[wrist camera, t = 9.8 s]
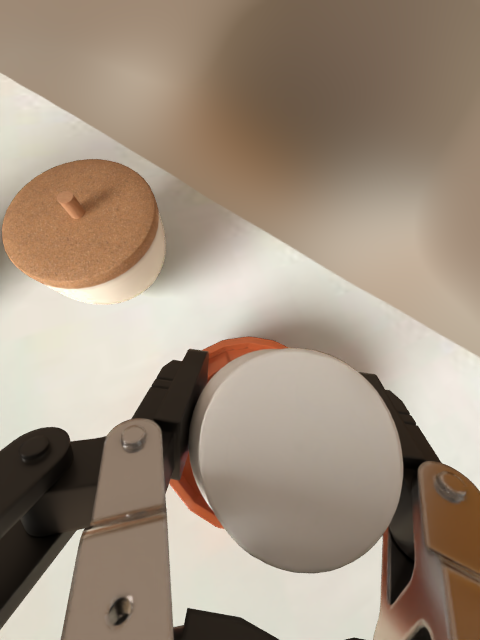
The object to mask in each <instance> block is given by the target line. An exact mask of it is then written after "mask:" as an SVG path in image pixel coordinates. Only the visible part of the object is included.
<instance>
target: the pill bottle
mask: <svg viewBox="0 0 480 640" xmlns="http://www.w3.org/2000/svg"><path fill="white" fill-rule="evenodd" d="M189 457H190V463H191V468H192V471H193V475H194V478H195V480H196V483H197V486H198V488H199V490H200V492H201V494H202V496H203V497H204V499H205V501H206V502H207V504H208V505H209V506H210V508H211V509H212V510H213V512H214V514H215V516H216V517H217V519H218V520H219V522H220V523H221V525H222V526H223V528H224V529H225V530H226V531H227V532H228V534H229V535H230V536H231V537H232V538H233V539H234V541H235V542H236V543H237V544H238V545H239V546H240V547H242V548H243V549H244V550H245V551H246V552H248V553H249V554H250V555H252V556H253V557H255V558H257V559H259V560H261V561H263V562H264V563H266V564H269V565H271V566H273V567H276V568H279V569H282V570H286V571H290V572H296V573H320V572H327V571H332V570H335V569H338V568H341V567H343V566H345V565H347V564H349V563H352V562H353V561H355V560H357V559H358V558H360V557H361V556H363V555H364V554H365V553H366V552H368V551H369V550H370V549H371V548H372V547H373V546H374V545H375V544H376V543H377V541H378V540H379V539H380V538H381V536H382V535H383V534H384V532H385V531H386V529H387V527H388V526H389V524H390V522H391V520H392V518H393V515H394V513H395V511H396V509H397V506H398V503H399V498H400V494H401V488H402V481H403V457H402V449H401V444H400V439H399V435H398V431H397V428H396V426H395V423H394V420H393V418H392V416H391V413H390V411H389V410H388V408H387V406H386V404H385V403H384V401H383V399H382V398H381V396H380V395H379V393H378V392H377V391H376V390H375V388H374V387H373V386H372V385H371V384H370V383H369V382H368V380H366V379H365V378H364V377H363V376H362V375H361V374H360V373H359V372H357V371H356V370H355V369H353V368H352V367H350V366H349V365H348V364H346V363H345V362H343V361H341V360H339V359H337V358H335V357H333V356H331V355H328V354H325V353H322V352H319V351H315V350H310V349H303V348H284V349H263V350H258V351H254V352H250V353H247V354H245V355H242V356H240V357H238V358H236V359H234V360H232V361H231V362H229V363H228V364H226V365H225V366H224V367H223V368H221V369H220V370H219V371H218V372H217V373H216V374H215V375H214V376H213V377H212V378H211V379H210V381H209V382H208V383H207V385H206V386H205V388H204V389H203V391H202V392H201V394H200V396H199V398H198V401H197V403H196V405H195V408H194V411H193V414H192V418H191V422H190V428H189Z"/></svg>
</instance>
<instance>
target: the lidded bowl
mask: <svg viewBox="0 0 480 640" xmlns="http://www.w3.org/2000/svg"><path fill="white" fill-rule="evenodd" d="M2 239H3V244H4V248H5V251H6V253H7V255H8V257H9V259H10V260H11V261H12V262H13V263H14V265H15V266H16V267H17V268H19V269H20V270H21V271H22V272H24V273H25V274H26V275H28V276H29V277H31V278H33V279H35V280H37V281H39V282H41V283H43V284H45V285H46V286H48V287H50V288H51V289H53V290H55V291H57V292H59V293H61V294H63V295H65V296H67V297H69V298H72V299H75V300H78V301H81V302H85V303H90V304H99V305H110V304H117V303H121V302H124V301H127V300H130V299H132V298H134V297H136V296H138V295H140V294H141V293H143V292H144V291H145V290H146V289H148V288H149V287H150V286H151V284H152V283H153V282H154V281H155V280H156V278H157V277H158V275H159V273H160V271H161V269H162V266H163V263H164V259H165V253H166V241H165V232H164V227H163V224H162V220H161V217H160V214H159V211H158V207H157V203H156V200H155V197H154V194H153V192H152V190H151V188H150V186H149V185H148V184H147V182H146V181H145V180H144V178H142V177H141V176H140V175H139V174H138V173H137V172H135V171H133V170H132V169H130V168H128V167H126V166H124V165H122V164H119V163H116V162H112V161H107V160H100V159H87V160H77V161H73V162H69V163H65V164H62V165H59V166H56V167H53V168H51V169H49V170H47V171H45V172H43V173H42V174H40V175H38V176H37V177H35V178H34V179H33V180H31V181H30V182H29V183H28V184H26V185H25V186H24V187H23V188H22V189H21V190H20V191H19V192H18V194H17V195H16V196H15V198H14V199H13V200H12V202H11V204H10V205H9V207H8V209H7V211H6V214H5V217H4V221H3V226H2Z"/></svg>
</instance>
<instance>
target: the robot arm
mask: <svg viewBox="0 0 480 640" xmlns="http://www.w3.org/2000/svg"><path fill="white" fill-rule="evenodd" d="M208 363H209V352H208V351H202V350H194V349H189V350H188V351H187V353H186V355H185V357H184V359H183V361H177V360H172V361H171V362H170V363H168V364H167V365H165V366H164V367H163V368H162V369H161V371H160V373H159V374H158V376H157V379H155V381H154V383H153V384H152V387H150V389H149V391H148V392H147V394H146V396H145V397H144V399H143V401H142V402H141V404H140V406H139V407H138V409H137V411H136V412H135V414H134V416H133V417H132V419H130V420H127V421H124V422H122V423H120V424H119V425H117V426H116V427H114V428H113V429H112V430H111V431H110V432H109V434H108V435H107V436H105V437H102V438H96V439H88V440H80V441H72V442H70V438H69V435H68V433H67V432H66V431H64V430H62V429H60V428H55V427H46V428H40V429H36V430H33V431H31V432H28V433H26V434H24V435H22V436H20V437H19V438H17V439H16V440H14V441H13V442H11V443H10V444H9V445H8V446H6V447H5V448H4V449H2V450H1V451H0V629H1V628H2V627H3V625H4V624H5V623H6V622H7V620H8V619H9V618H10V616H11V615H12V614H13V612H14V611H15V610H16V609H17V607H18V606H19V605H20V603H21V602H22V601H23V599H24V598H25V597H26V596H27V594H28V593H29V592H30V590H31V589H32V588H33V586H34V585H35V584H36V583H37V581H38V580H39V579H40V577H41V576H42V575H43V573H44V572H45V571H46V570H47V568H48V567H49V566H50V564H51V563H52V562H53V560H54V559H55V558H56V556H57V555H58V554H59V553H60V551H61V550H62V549H63V547H64V546H65V545H66V543H67V542H68V541H69V540H70V538H71V537H72V536H73V534H74V533H75V532H76V530H79V529H84V528H85V529H84V531H83V533H82V536H81V539H80V543H79V547H78V552H77V557H76V562H75V568H74V573H73V578H72V583H71V589H70V594H69V599H68V605H67V610H66V615H65V620H64V626H63V631H62V636H61V640H279V639H277V638H276V637H274V636H272V635H270V634H269V633H267V632H265V631H263V630H262V629H260V628H258V627H256V626H255V625H253V624H251V623H249V622H248V621H246V620H244V619H242V618H241V617H235V616H229V615H224V614H218V613H212V612H207V611H201V610H196V609H190V608H187V613H186V618H185V623H184V625H182V626H177V627H173V618H172V600H171V582H170V564H169V546H168V528H167V512H166V500H165V494H166V491H167V488H168V485H169V482H170V479H174V480H180V479H181V475H182V472H183V469H184V466H185V462H186V459H187V456H188V453H189V428H190V422H191V418H192V414H193V411H194V408H195V405H196V403H197V401H198V398H199V396H200V394H201V392H202V391H203V389H204V388H205V386H206V385H207V381H208ZM359 373H360V374H361V375H362V376H363V377H364V378H365V379H366V380H368V382H369V383H370V384H371V385H372V386H373V387H374V388H375V390H376V391H377V392H378V393H379V395H380V396H381V398H382V399H383V401H384V403H385V404H386V406H387V408H388V410H389V411H390V413H391V416H392V418H393V420H394V423H395V426H396V428H397V431H398V435H399V439H400V444H401V449H402V457H403V481H402V488H401V494H400V498H399V503H398V506H397V509H396V511H395V513H394V515H393V518H392V520H391V522H390V524H389V526H388V527H387V529H386V531H385V532H384V534H383V544H382V574H381V603H380V613H379V618H378V622H377V625H376V628H375V632H374V637H373V640H480V491H479V490H478V489H477V487H476V486H475V485H474V484H473V483H472V482H471V481H470V480H469V479H468V478H467V477H465V476H464V475H463V474H461V473H460V472H458V471H457V470H455V469H454V468H452V467H450V466H448V465H445V464H442V463H441V461H440V460H439V458H438V457H437V455H436V454H435V452H434V451H433V449H432V447H431V446H430V444H429V443H428V441H427V440H426V438H425V436H424V435H423V433H422V432H421V430H420V429H419V427H418V426H416V422H415V421H414V419H413V418H412V416H411V415H409V411H408V410H407V408H406V407H405V405H404V403H403V402H402V401H401V400H400V399H399V398H398V397H397V396H396V395H394V394H393V393H392V392H391V391H390V390H385V389H384V387H383V385H382V384H381V382H380V380H379V379H378V377H377V376H376V375H375V374H368V373H361V372H359ZM346 640H364V639H358V638H350V639H346Z"/></svg>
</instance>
